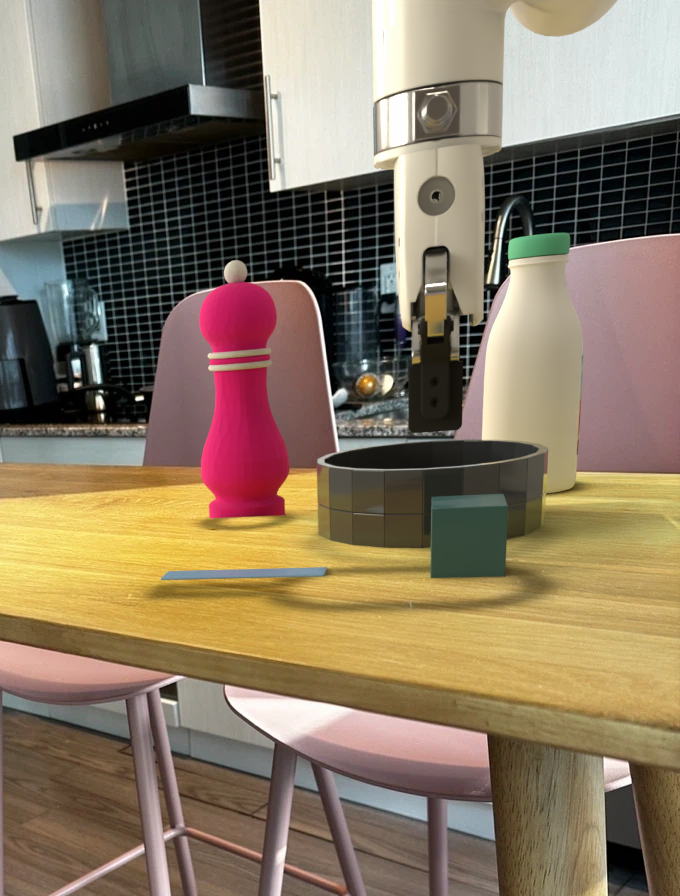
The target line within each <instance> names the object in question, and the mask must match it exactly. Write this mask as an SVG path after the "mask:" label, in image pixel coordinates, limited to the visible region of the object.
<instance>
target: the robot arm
mask: <svg viewBox="0 0 680 896" xmlns="http://www.w3.org/2000/svg"><path fill="white" fill-rule="evenodd" d="M617 2H618V0H371V28H372V30H371V34H372V35H371V37H372V38H371V40H372V43H371V44H372V96H373V98H372V99H373V101H372V102H373V107H372V112H373V113H372V115H373V116H372V117H373V118H372V119H373V120H372V121H373V125H372V126H373V167H374V168H375V169H377V170H379V169H381V170H387V171H388V170H389V171H390V170H393V202H394V203H393V204H394V205H393V207H394V208H393V209H394V249H395V251H394V252H395V270H396V271H395V272H396V286H397V295H398V305H399V312H400V318H401V319H400V320H401V325H402V326H401V327H402V328H403V329H405V330H407V331H408V332H410V333H411V334H412V336H411V337H412V338H411V365H408V366H407V371H408V372H407V384H408V385H407V389H408V390H407V392H408V393H407V396H408V397H407V400H408V401H407V402H408V403H407V405H408V406H407V407H408V408H407V410H408V411H407V414H408V416H407V418H408V420H407V421H408V425H407V428H408V431H409V432H411V433H412V434H420V433H421V434H425V433H436V432H437V433H439V432H451V431H453V432H454V431H458V430H460V429H461V427H463V400H464V399H463V398H464V397H463V393H464V392H463V391H464V390H463V389H464V360H461V354H460V326H461V324H460V322H461V321H460V319H461V316H467V315H468V325H469V326H470V327H476V326H478V325H479V324H480V323H481V322H482V321H483V320H484V290H485V289H484V288H485V287H484V286H485V285H484V284H485V283H484V281H485V278H484V277H485V237H486V235H485V233H486V231H485V228H486V197H485V196H486V193H485V192H486V191H485V190H486V189H485V188H486V186H485V185H486V184H485V168H484V167H485V166H484V158H485V157H489V156H491V155H492V156H493V155H495V153H499V152H500V151H502V149H503V142H502V141H503V139H502V138H503V112H504V111H503V110H504V64H505V62H504V59H505V57H504V56H505V24H506V23H505V22H506V17H507V12H508V10H510V12H511V14H512V15H513V17H514V18H515V19H516V21H518V23H520V25H522V27H524V28H526V29H527V30H528V31H530V32H532V33H534V34H537V35H540V36H544V37H557V38H558V37H564V36H569V35H573V34H575V33H578V32H581V31H583V30H585V29H587V28H588V27H590V26H592V25H594V24H595V23H596V22H598V21H600V19H601V18H602V17H604V16H605V15H606V14H607V13H608V12H609V11H610V10H611V9H612V8H613V7H614V5H615V4H616V3H617Z"/></svg>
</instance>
